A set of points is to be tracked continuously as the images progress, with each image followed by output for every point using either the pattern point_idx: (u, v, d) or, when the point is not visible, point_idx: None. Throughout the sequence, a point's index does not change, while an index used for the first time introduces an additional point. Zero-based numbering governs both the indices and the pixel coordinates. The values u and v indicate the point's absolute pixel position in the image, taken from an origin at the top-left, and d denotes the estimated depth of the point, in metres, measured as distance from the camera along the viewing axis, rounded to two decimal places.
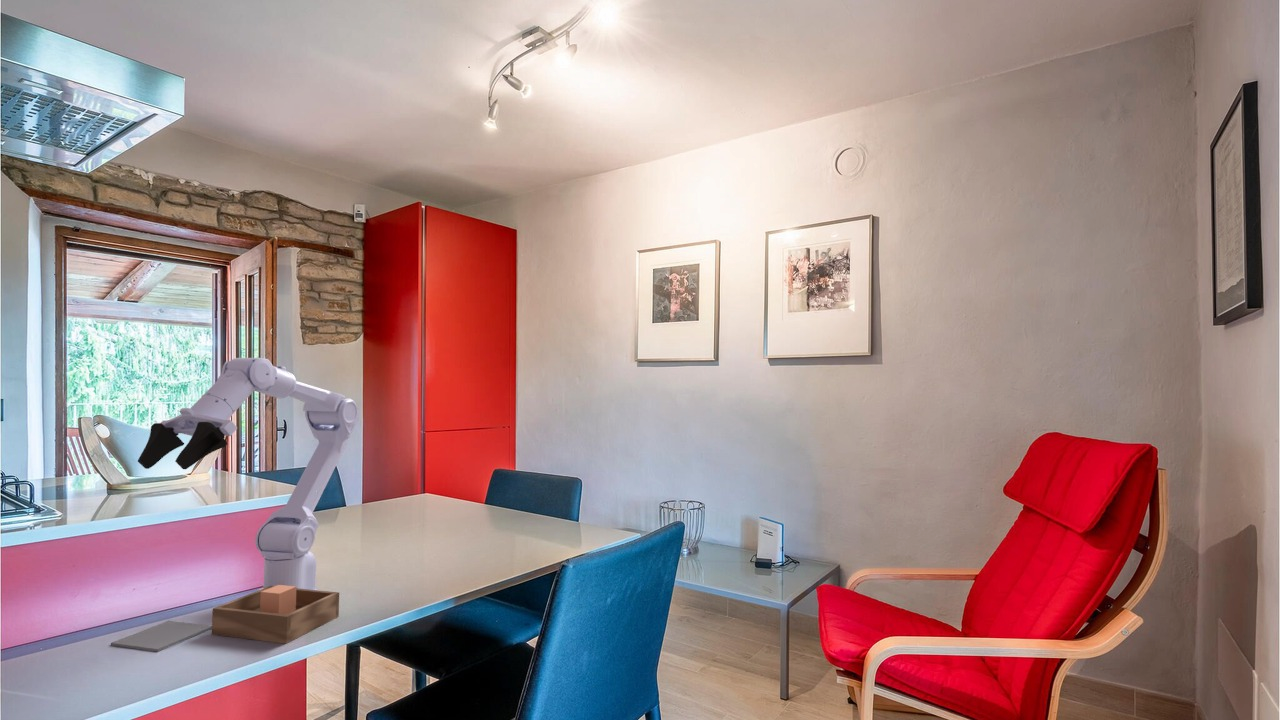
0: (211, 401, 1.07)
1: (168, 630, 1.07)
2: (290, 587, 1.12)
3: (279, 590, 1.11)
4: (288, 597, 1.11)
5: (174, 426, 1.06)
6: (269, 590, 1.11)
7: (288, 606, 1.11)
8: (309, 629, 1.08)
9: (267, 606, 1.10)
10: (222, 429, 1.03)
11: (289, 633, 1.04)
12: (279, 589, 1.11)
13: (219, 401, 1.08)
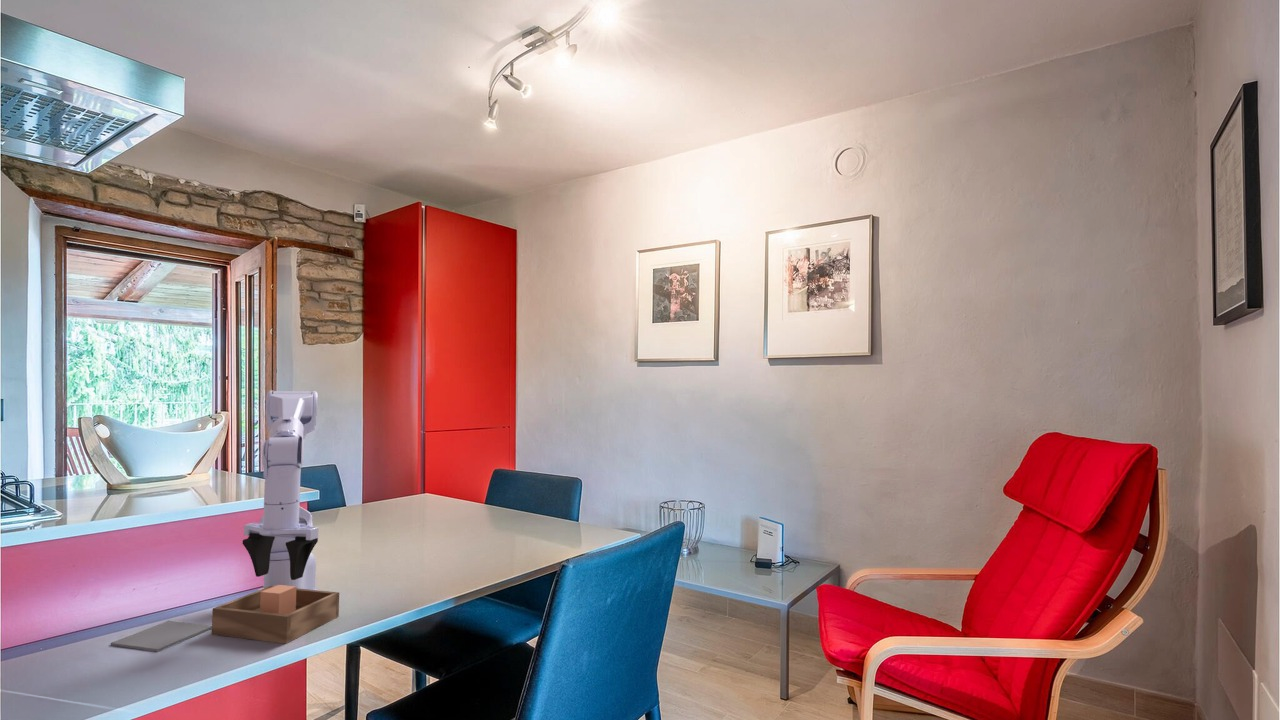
0: (278, 510, 1.10)
1: (168, 630, 1.07)
2: (290, 587, 1.12)
3: (279, 590, 1.11)
4: (288, 597, 1.11)
5: None
6: (269, 590, 1.11)
7: (288, 606, 1.11)
8: (309, 629, 1.08)
9: (267, 606, 1.10)
10: (309, 539, 1.10)
11: (289, 633, 1.04)
12: (279, 589, 1.11)
13: (284, 507, 1.10)
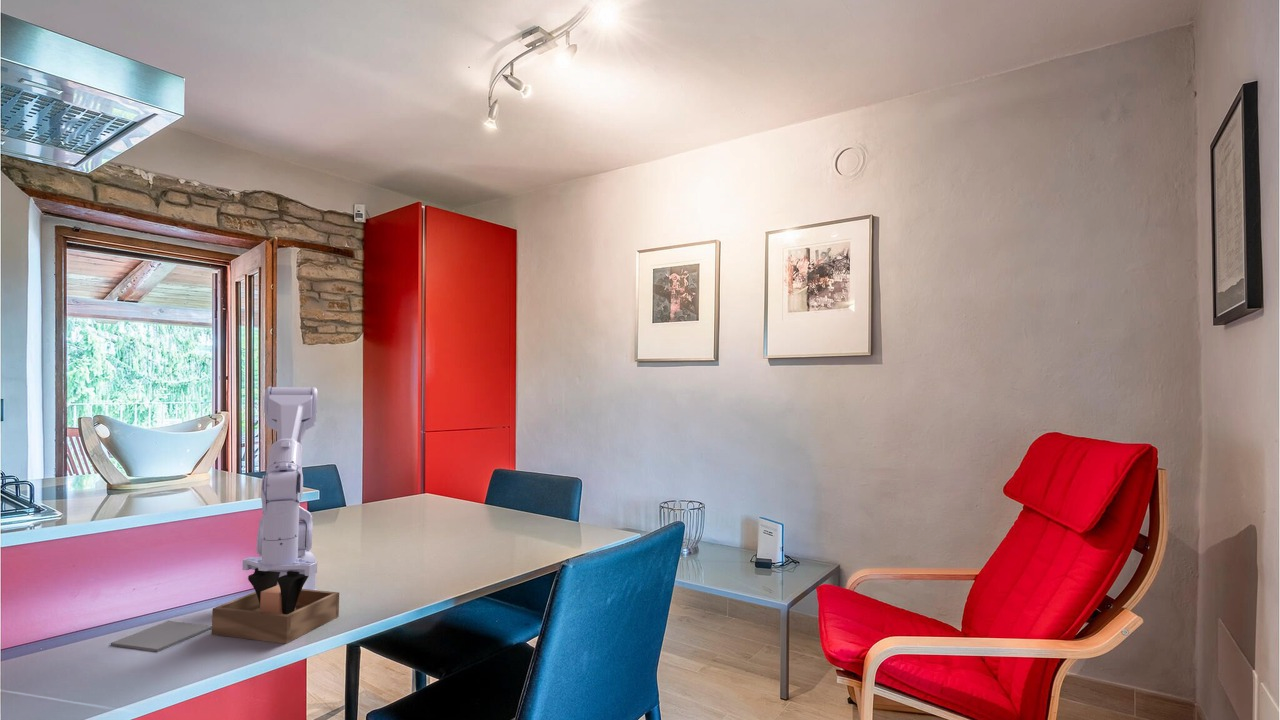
0: (277, 546, 1.09)
1: (168, 630, 1.07)
2: None
3: (279, 590, 1.11)
4: None
5: None
6: (269, 590, 1.11)
7: None
8: (309, 629, 1.08)
9: (267, 606, 1.10)
10: None
11: (289, 633, 1.04)
12: (279, 589, 1.11)
13: (283, 542, 1.10)
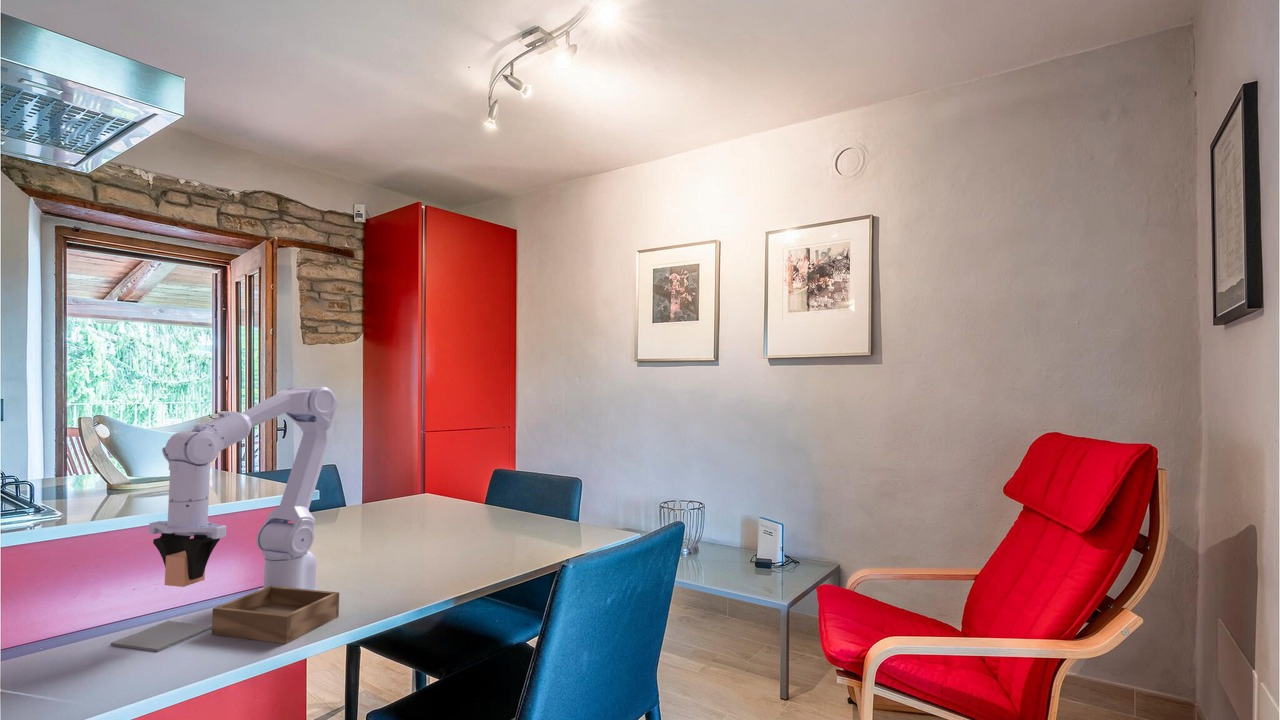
0: (183, 508, 1.05)
1: (168, 630, 1.07)
2: None
3: None
4: None
5: None
6: (175, 554, 1.06)
7: None
8: (309, 629, 1.08)
9: (172, 570, 1.05)
10: (215, 538, 1.05)
11: (289, 633, 1.04)
12: None
13: (190, 504, 1.05)
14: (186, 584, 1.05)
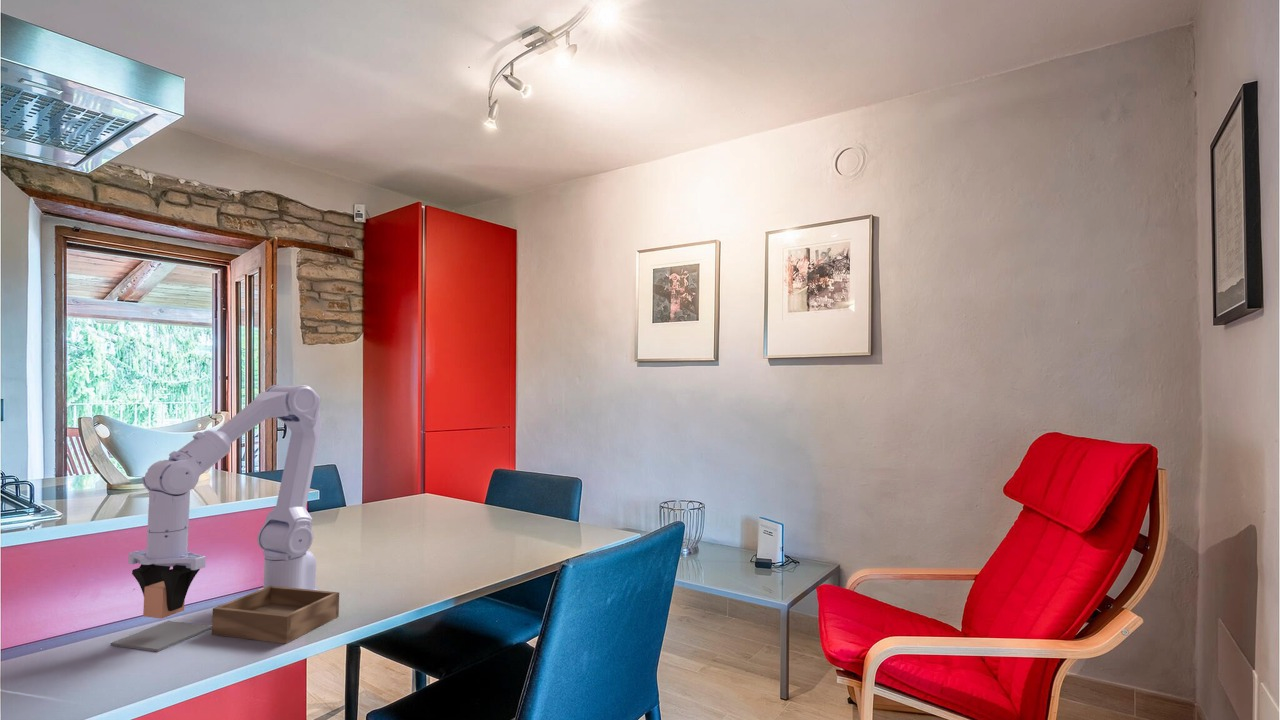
0: (161, 538, 1.04)
1: (168, 630, 1.07)
2: None
3: None
4: None
5: None
6: (154, 585, 1.05)
7: None
8: (309, 629, 1.08)
9: (150, 601, 1.04)
10: (194, 569, 1.04)
11: (289, 633, 1.04)
12: None
13: (168, 535, 1.04)
14: (165, 615, 1.04)
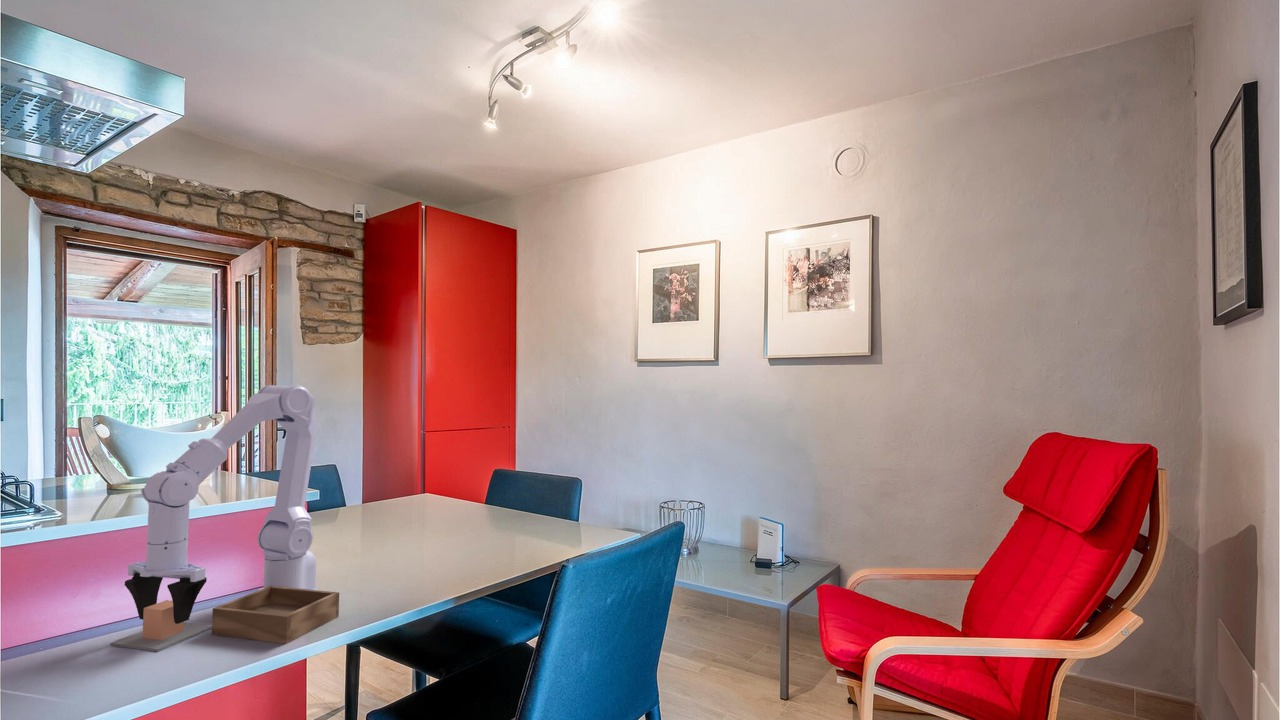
0: (161, 550, 1.04)
1: None
2: None
3: (164, 606, 1.05)
4: None
5: None
6: (153, 606, 1.05)
7: (174, 623, 1.06)
8: (309, 629, 1.08)
9: (149, 623, 1.04)
10: None
11: (289, 633, 1.04)
12: (164, 605, 1.06)
13: (168, 547, 1.04)
14: (164, 637, 1.04)
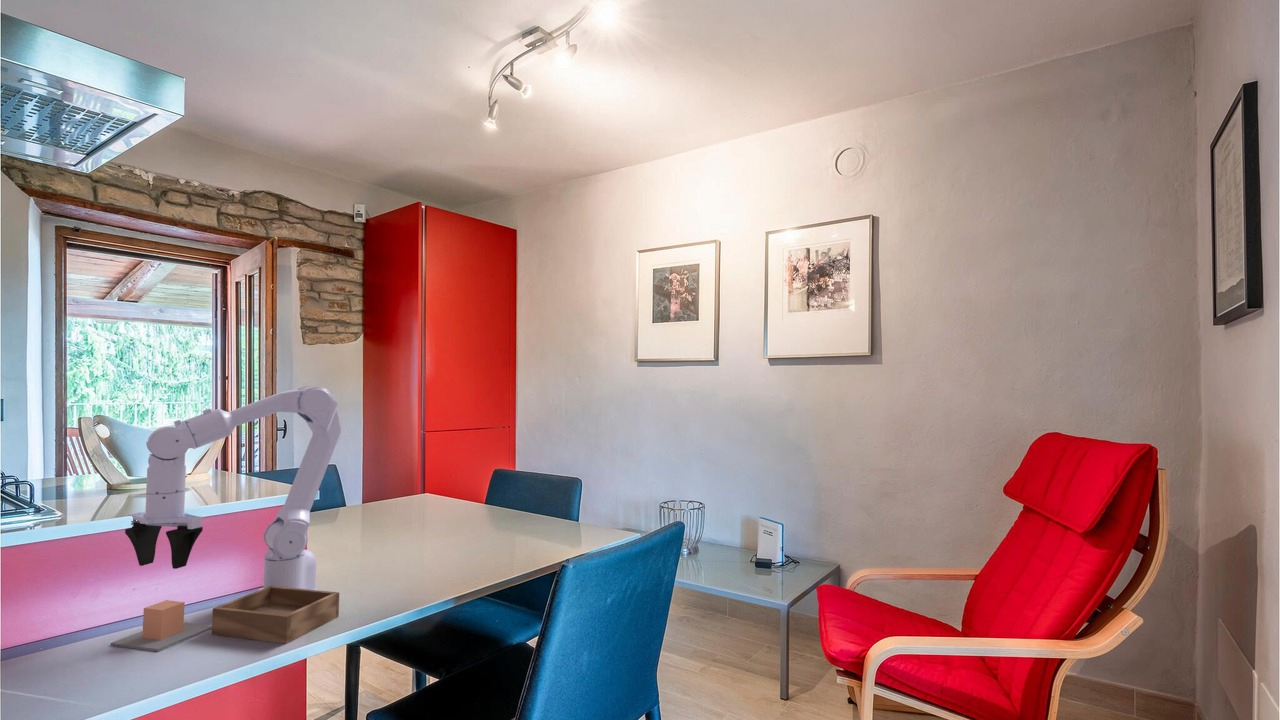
0: (159, 499, 1.10)
1: None
2: (177, 603, 1.07)
3: (164, 606, 1.05)
4: (174, 614, 1.06)
5: None
6: (153, 606, 1.05)
7: (174, 623, 1.06)
8: (309, 629, 1.08)
9: (149, 623, 1.04)
10: (190, 528, 1.10)
11: (289, 633, 1.04)
12: (164, 605, 1.06)
13: (166, 496, 1.11)
14: (164, 637, 1.04)
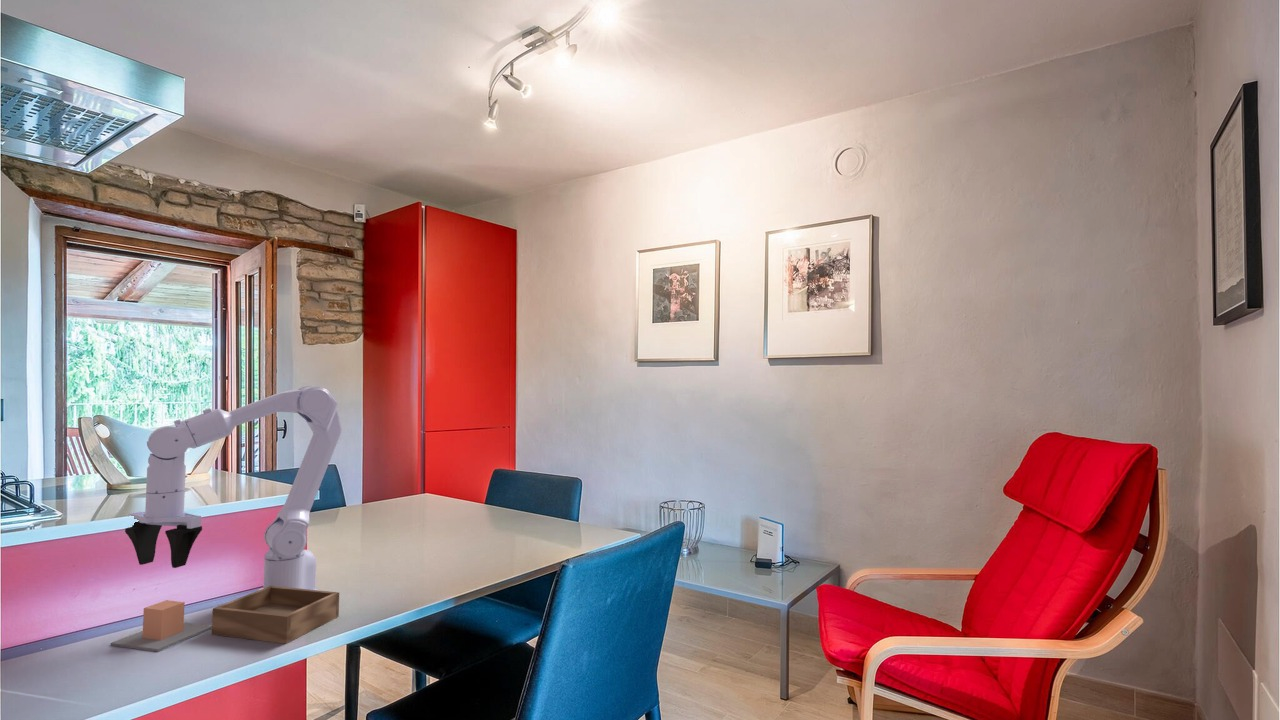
0: (159, 499, 1.11)
1: None
2: (177, 603, 1.07)
3: (164, 606, 1.05)
4: (174, 614, 1.06)
5: None
6: (153, 606, 1.05)
7: (174, 623, 1.06)
8: (309, 629, 1.08)
9: (149, 623, 1.04)
10: None
11: (289, 633, 1.04)
12: (164, 605, 1.06)
13: (166, 496, 1.11)
14: (164, 637, 1.04)
